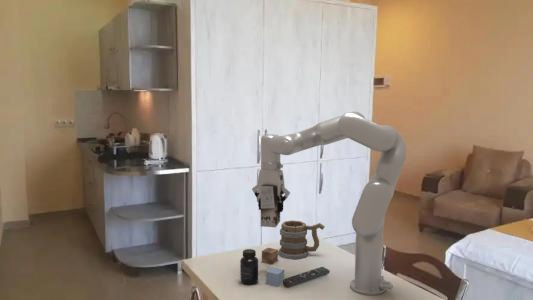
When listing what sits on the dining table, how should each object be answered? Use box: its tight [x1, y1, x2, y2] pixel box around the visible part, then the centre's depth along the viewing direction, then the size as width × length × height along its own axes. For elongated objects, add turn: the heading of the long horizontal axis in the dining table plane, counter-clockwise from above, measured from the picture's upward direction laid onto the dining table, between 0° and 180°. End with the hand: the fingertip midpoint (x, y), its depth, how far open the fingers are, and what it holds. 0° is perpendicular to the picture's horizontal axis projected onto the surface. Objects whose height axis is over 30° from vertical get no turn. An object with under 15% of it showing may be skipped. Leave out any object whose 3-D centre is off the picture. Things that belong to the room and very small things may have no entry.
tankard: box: [278, 220, 325, 260], centre depth 193 cm, size 20×13×15 cm, turn 73°
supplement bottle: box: [239, 248, 259, 286], centre depth 165 cm, size 7×7×12 cm
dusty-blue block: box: [265, 266, 285, 288], centre depth 164 cm, size 5×5×5 cm
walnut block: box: [261, 247, 279, 265], centre depth 186 cm, size 5×5×5 cm
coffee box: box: [260, 185, 281, 228], centre depth 171 cm, size 9×6×16 cm
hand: (270, 210), depth 172 cm, fingers closed on coffee box, 7 cm apart
